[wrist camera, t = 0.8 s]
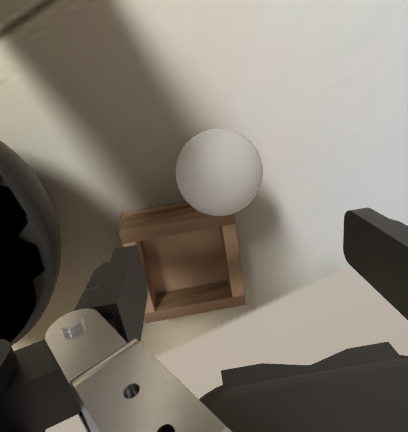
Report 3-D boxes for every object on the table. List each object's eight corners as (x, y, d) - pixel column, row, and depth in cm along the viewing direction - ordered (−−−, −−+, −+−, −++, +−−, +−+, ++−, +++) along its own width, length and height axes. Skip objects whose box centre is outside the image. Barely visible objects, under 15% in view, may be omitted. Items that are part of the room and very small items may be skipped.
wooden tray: (121, 213, 30) (114, 230, 26) (229, 194, 30) (236, 208, 27) (146, 301, 34) (143, 325, 31) (240, 283, 34) (248, 306, 31)
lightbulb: (198, 105, 27) (211, 112, 17) (252, 142, 29) (293, 169, 18) (164, 163, 29) (157, 200, 18) (216, 194, 30) (236, 245, 20)
